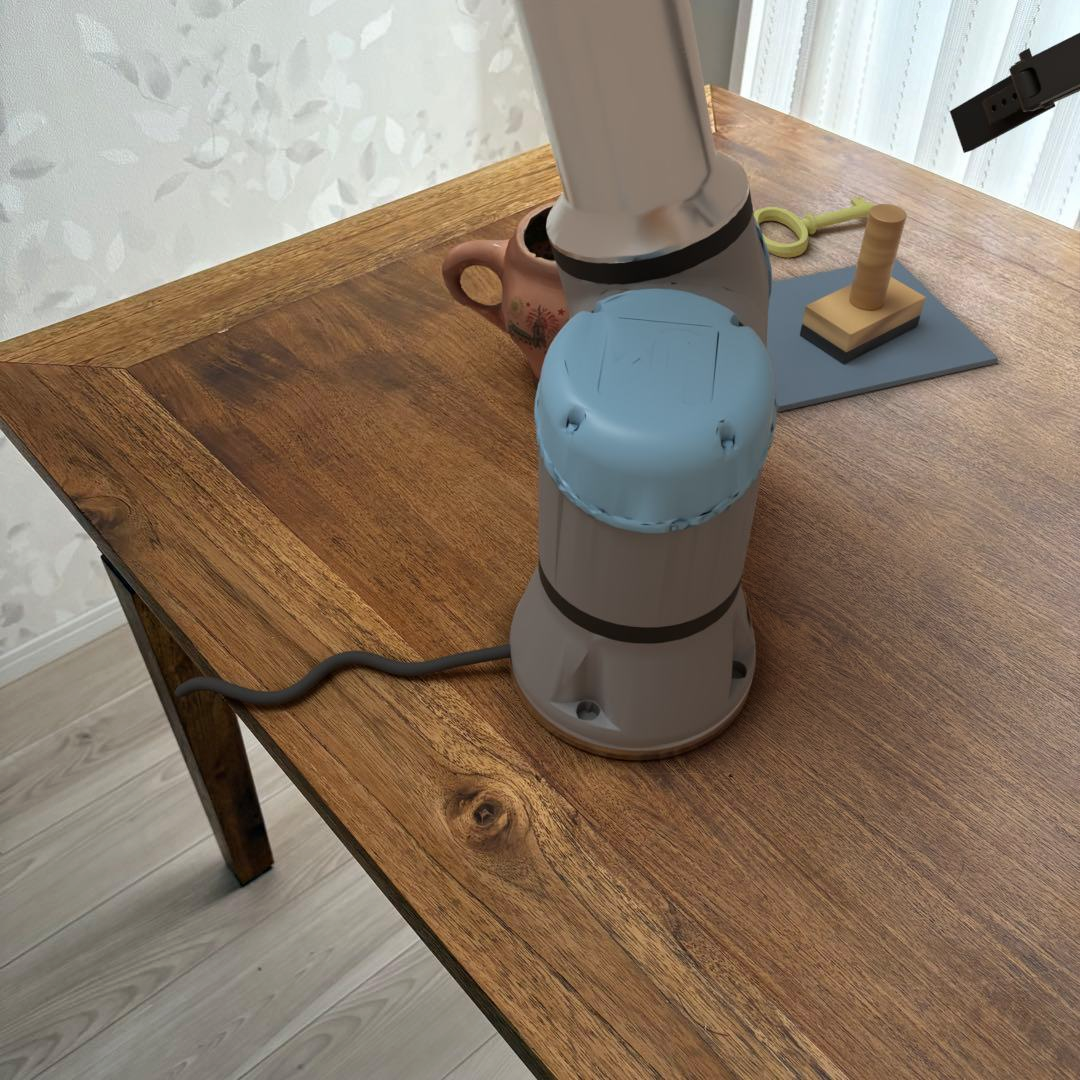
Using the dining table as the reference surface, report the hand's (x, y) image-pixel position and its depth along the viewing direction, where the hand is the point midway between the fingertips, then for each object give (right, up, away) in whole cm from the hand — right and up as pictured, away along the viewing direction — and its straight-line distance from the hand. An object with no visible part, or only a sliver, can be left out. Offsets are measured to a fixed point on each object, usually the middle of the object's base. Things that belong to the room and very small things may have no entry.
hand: (1037, 106), depth 71 cm
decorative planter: (-30, -15, +19) cm, 38 cm away
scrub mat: (-6, -10, +23) cm, 26 cm away
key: (-7, +1, +35) cm, 35 cm away
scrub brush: (-5, -10, +22) cm, 25 cm away
